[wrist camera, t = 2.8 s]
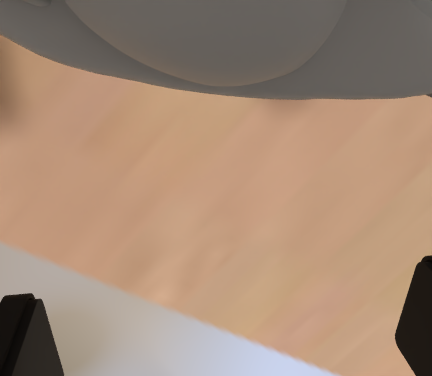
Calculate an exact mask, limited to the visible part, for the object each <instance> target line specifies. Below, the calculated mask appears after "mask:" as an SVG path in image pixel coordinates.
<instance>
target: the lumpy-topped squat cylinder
mask: <svg viewBox="0 0 432 376" xmlns="http://www.w3.org/2000/svg"><path fill="white" fill-rule="evenodd" d="M0 34H1V35H3V36H4V37H6V38H8V39H10V40H12V41H13V42H15V43H17V44H19V45H21V46H22V47H24V48H26V49H28V50H30V51H32V52H34V53H36V54H38V55H40V56H43V57H45V58H48V59H51V60H53V61H56V62H58V63H61V64H64V65H67V66H71V67H74V68H78V69H82V70H86V71H89V72H93V73H97V74H102V75H107V76H113V77H118V78H122V79H127V80H133V81H138V82H143V83H147V84H151V85H156V86H161V87H166V88H172V89H178V90H185V91H193V92H199V93H208V94H217V95H226V96H236V97H248V98H262V99H287V100H305V99H395V98H405V97H411V96H420V95H426V94H431V93H432V0H0Z"/></svg>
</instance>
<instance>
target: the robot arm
mask: <svg viewBox="0 0 432 376" xmlns="http://www.w3.org/2000/svg"><path fill="white" fill-rule="evenodd" d="M395 340H396V344H397V346H398V348H399V350H400V351H401V353H402V355H403V356H404V358H405V359H406V361H407V362H408V364H409V366H410V367H411V369H412V370H413V372H414V373H415V375H416V376H432V256H425V257H424V258H423V259H422V261H421V262H419V263H418V264H417V266H416V268H415V271H414V275H413V278H412V281H411V284H410V287H409V291H408V294H407V297H406V300H405V304H404V307H403V310H402V313H401V316H400V320H399V323H398V326H397V329H396V333H395ZM0 376H64V373H63V369H62V365H61V362H60V359H59V355H58V351H57V348H56V345H55V342H54V338H53V335H52V331H51V328H50V324H49V321H48V317H47V314H46V310H45V307H44V304H43V301H42V299H35V297H34V295H33V294H32V293H29V294H19V295H7V296H4V297H3V299H2V300H1V302H0Z"/></svg>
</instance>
